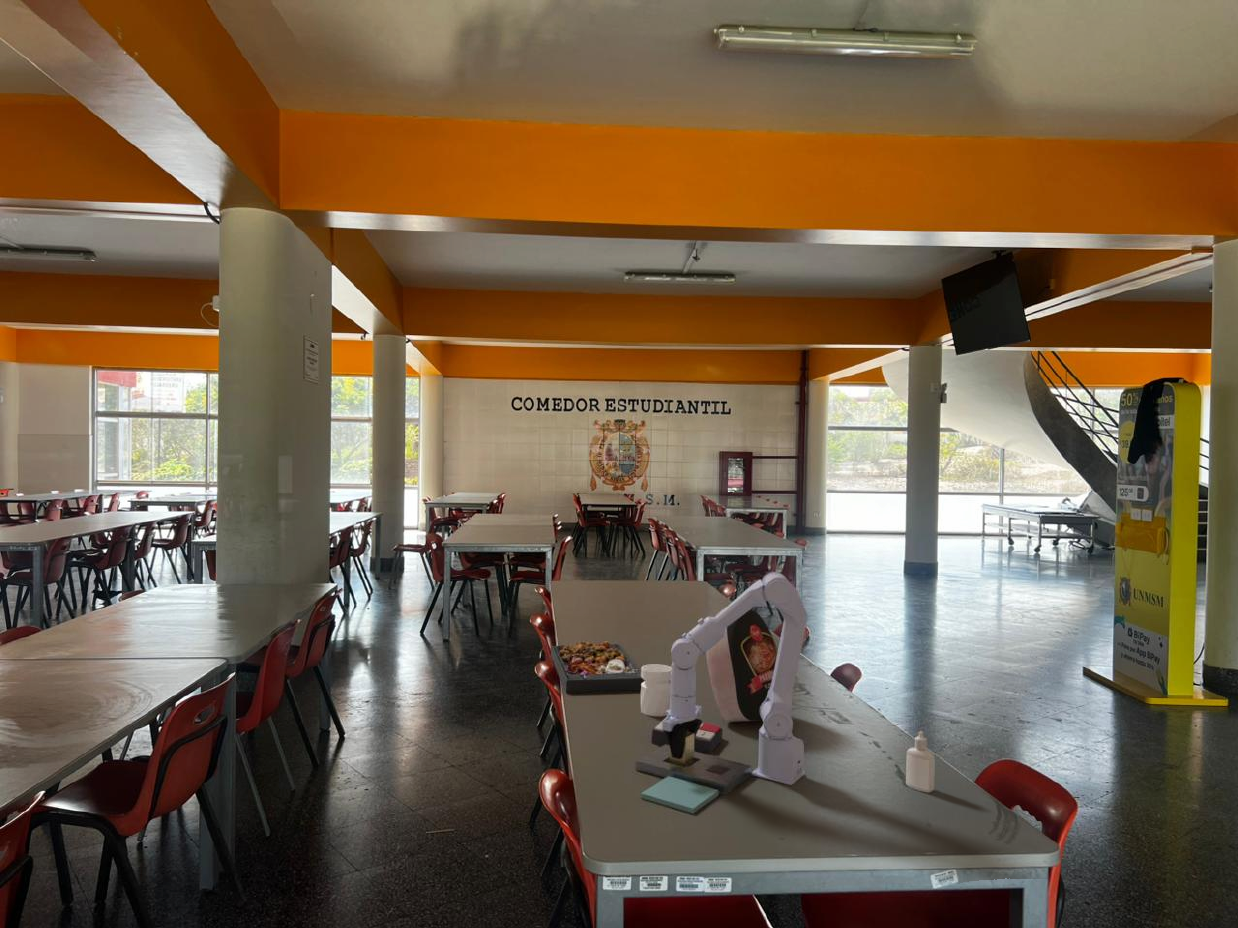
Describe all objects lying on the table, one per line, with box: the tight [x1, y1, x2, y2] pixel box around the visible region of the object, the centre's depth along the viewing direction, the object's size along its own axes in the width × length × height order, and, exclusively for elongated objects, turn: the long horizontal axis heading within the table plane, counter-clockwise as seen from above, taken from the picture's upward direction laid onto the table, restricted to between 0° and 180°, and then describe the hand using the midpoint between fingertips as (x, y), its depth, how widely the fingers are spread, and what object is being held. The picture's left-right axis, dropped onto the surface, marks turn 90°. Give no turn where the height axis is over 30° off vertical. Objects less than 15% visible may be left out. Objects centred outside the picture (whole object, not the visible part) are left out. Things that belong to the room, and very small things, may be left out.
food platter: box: [550, 640, 645, 694], centre depth 256 cm, size 45×25×10 cm, turn 11°
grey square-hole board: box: [635, 744, 753, 795], centre depth 174 cm, size 22×13×2 cm, turn 56°
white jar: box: [640, 663, 672, 717], centre depth 216 cm, size 9×9×12 cm
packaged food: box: [705, 606, 778, 723], centre depth 213 cm, size 22×20×30 cm
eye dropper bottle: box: [905, 730, 936, 793], centre depth 168 cm, size 4×6×12 cm
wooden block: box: [669, 731, 695, 768], centre depth 175 cm, size 4×4×8 cm
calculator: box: [650, 717, 723, 754], centre depth 194 cm, size 11×4×15 cm
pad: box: [640, 776, 720, 815], centre depth 161 cm, size 12×11×1 cm
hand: (681, 754), depth 175 cm, fingers closed on wooden block, 4 cm apart
